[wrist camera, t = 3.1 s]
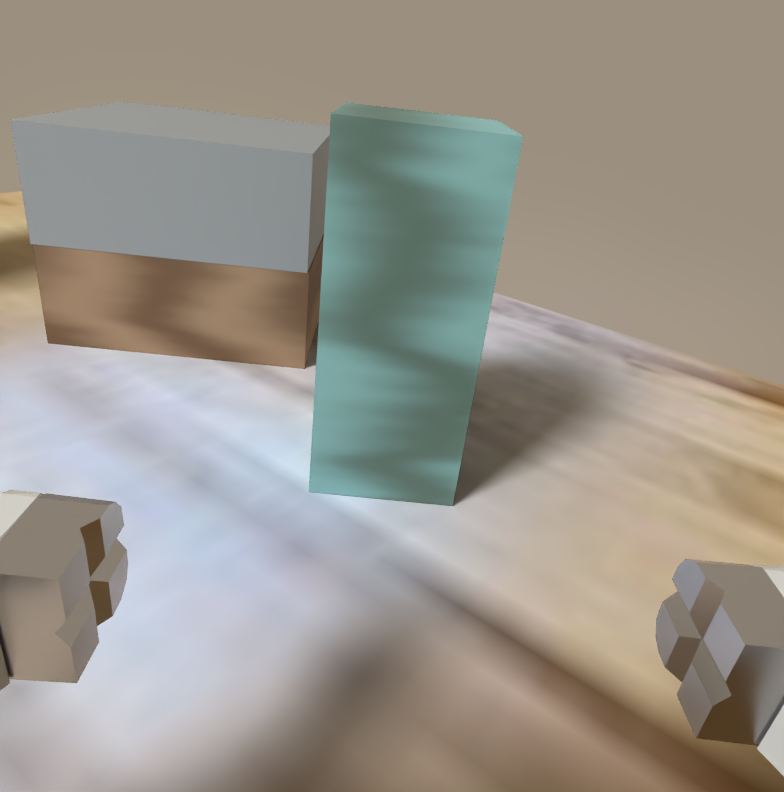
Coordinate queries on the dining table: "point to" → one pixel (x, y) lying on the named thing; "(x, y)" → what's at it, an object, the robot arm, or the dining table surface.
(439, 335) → the teal block
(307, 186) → the tower top
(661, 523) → the dining table surface
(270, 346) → the tower base
